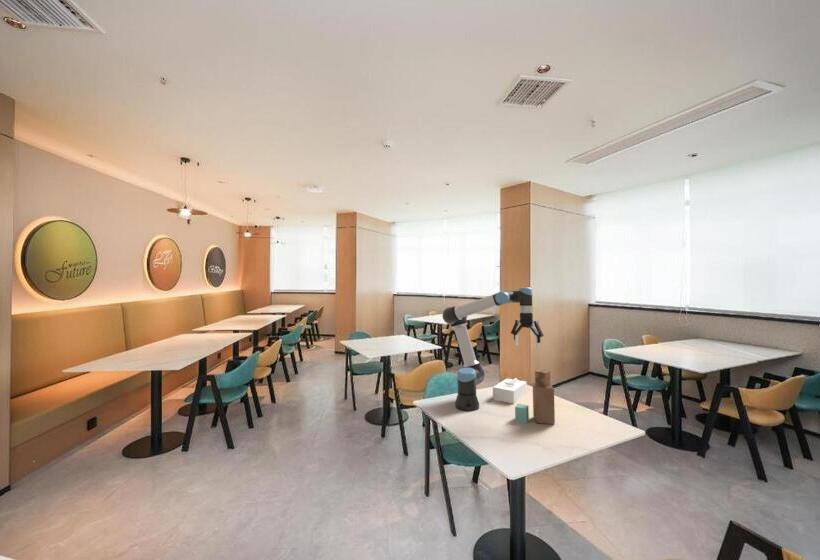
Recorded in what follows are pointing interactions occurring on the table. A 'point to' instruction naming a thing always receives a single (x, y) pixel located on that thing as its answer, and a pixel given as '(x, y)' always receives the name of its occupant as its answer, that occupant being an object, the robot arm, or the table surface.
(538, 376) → the walnut block
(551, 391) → the block
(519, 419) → the teal block
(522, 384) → the tissue box
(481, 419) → the table surface
